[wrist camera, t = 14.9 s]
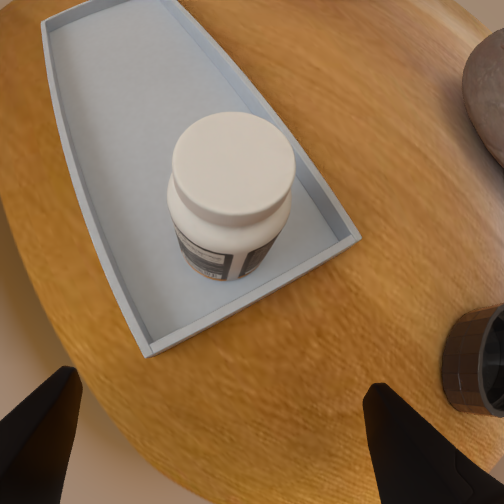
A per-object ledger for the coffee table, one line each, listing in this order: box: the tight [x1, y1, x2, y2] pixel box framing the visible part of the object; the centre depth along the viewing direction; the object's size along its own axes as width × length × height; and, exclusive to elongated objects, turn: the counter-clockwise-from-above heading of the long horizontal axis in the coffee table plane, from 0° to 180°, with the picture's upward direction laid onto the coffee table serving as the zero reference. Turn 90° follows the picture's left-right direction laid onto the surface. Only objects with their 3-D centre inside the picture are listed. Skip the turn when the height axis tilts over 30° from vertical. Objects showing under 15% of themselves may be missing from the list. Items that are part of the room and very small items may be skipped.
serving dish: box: [41, 0, 362, 358], centre depth 23 cm, size 15×39×2 cm, turn 30°
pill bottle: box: [167, 112, 296, 281], centre depth 16 cm, size 6×6×10 cm
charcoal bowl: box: [442, 303, 504, 418], centre depth 19 cm, size 9×9×4 cm
